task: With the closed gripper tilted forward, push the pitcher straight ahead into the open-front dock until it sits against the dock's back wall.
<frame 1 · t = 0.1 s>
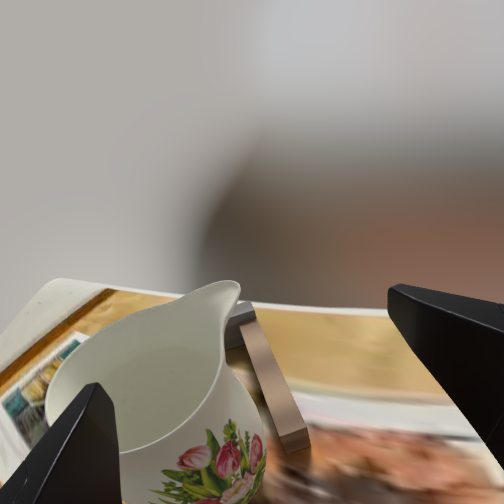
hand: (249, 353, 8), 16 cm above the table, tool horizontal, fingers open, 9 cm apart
pitcher: (202, 489, 18), on the table
dock: (189, 404, 27), on the table
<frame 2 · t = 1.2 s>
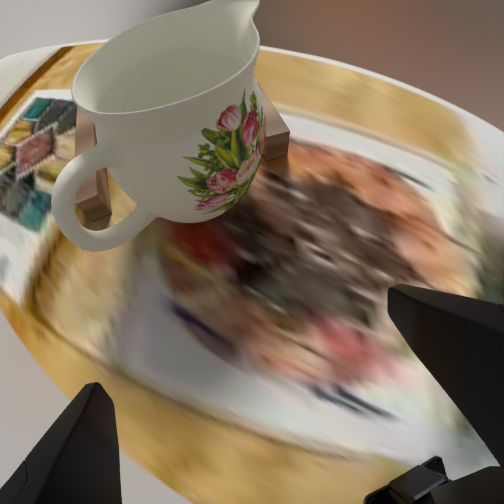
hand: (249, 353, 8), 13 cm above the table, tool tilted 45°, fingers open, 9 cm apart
pitcher: (191, 195, 25), on the table
dock: (168, 122, 29), on the table
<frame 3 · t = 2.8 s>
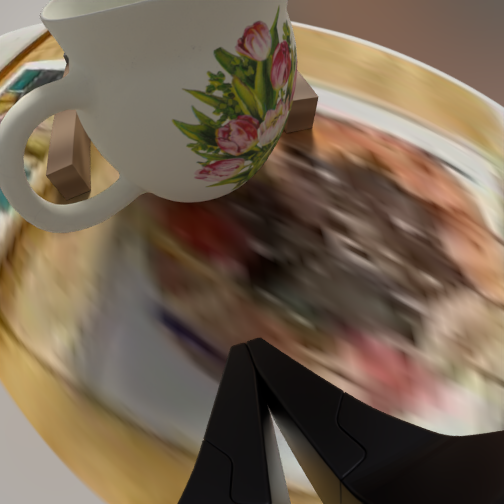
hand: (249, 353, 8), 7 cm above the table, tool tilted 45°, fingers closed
pitcher: (190, 170, 20), on the table
dock: (168, 88, 23), on the table
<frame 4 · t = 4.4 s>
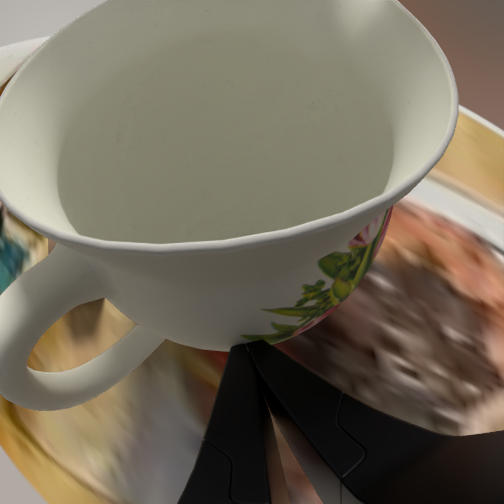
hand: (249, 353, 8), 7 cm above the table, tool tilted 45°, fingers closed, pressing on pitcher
pitcher: (225, 275, 17), on the table, touching gripper
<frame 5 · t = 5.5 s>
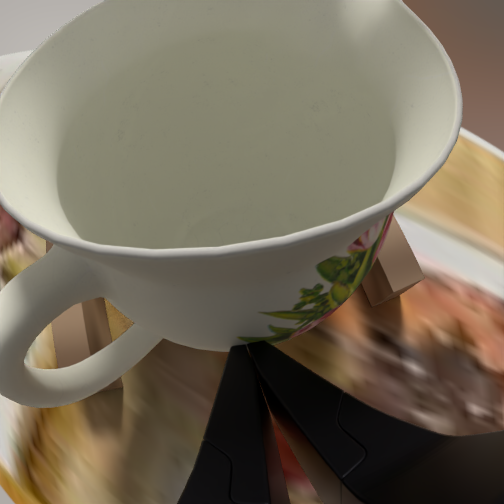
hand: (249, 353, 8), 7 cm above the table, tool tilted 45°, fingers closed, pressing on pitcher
pitcher: (225, 274, 17), on the table, touching gripper
dock: (204, 211, 18), on the table
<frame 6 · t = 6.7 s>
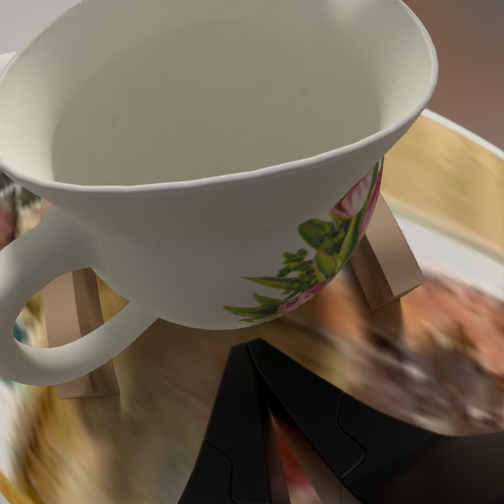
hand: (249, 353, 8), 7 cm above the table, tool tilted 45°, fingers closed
pitcher: (218, 260, 17), on the table
dock: (200, 213, 18), on the table
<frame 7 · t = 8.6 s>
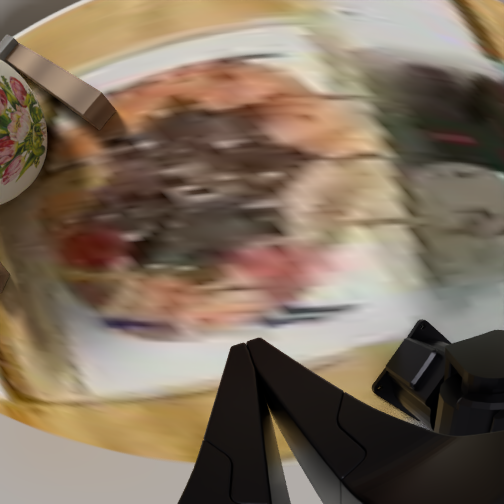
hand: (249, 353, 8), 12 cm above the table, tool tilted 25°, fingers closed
pitcher: (18, 169, 21), on the table
dock: (2, 154, 20), on the table
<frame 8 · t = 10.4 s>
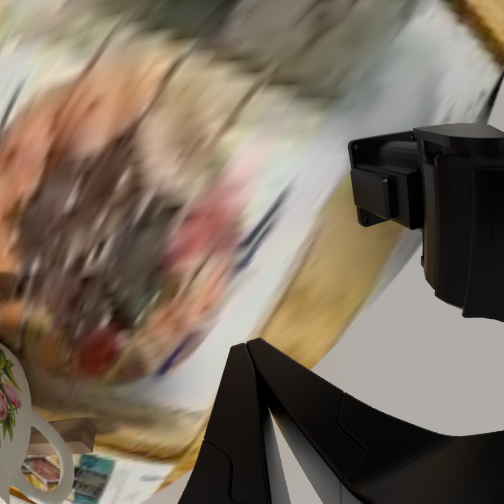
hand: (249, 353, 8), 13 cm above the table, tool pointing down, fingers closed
pitcher: (5, 370, 20), on the table
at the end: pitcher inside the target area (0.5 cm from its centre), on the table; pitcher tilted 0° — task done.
